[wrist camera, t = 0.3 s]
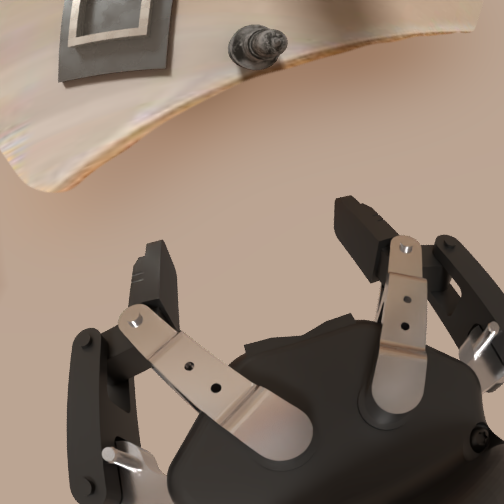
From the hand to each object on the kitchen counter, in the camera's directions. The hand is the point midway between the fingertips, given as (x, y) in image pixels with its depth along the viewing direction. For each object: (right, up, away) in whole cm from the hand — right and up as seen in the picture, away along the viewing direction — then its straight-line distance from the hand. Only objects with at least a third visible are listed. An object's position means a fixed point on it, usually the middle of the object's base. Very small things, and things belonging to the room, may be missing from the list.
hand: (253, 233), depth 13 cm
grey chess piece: (0, +24, +16) cm, 29 cm away
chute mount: (-16, +28, +8) cm, 34 cm away
